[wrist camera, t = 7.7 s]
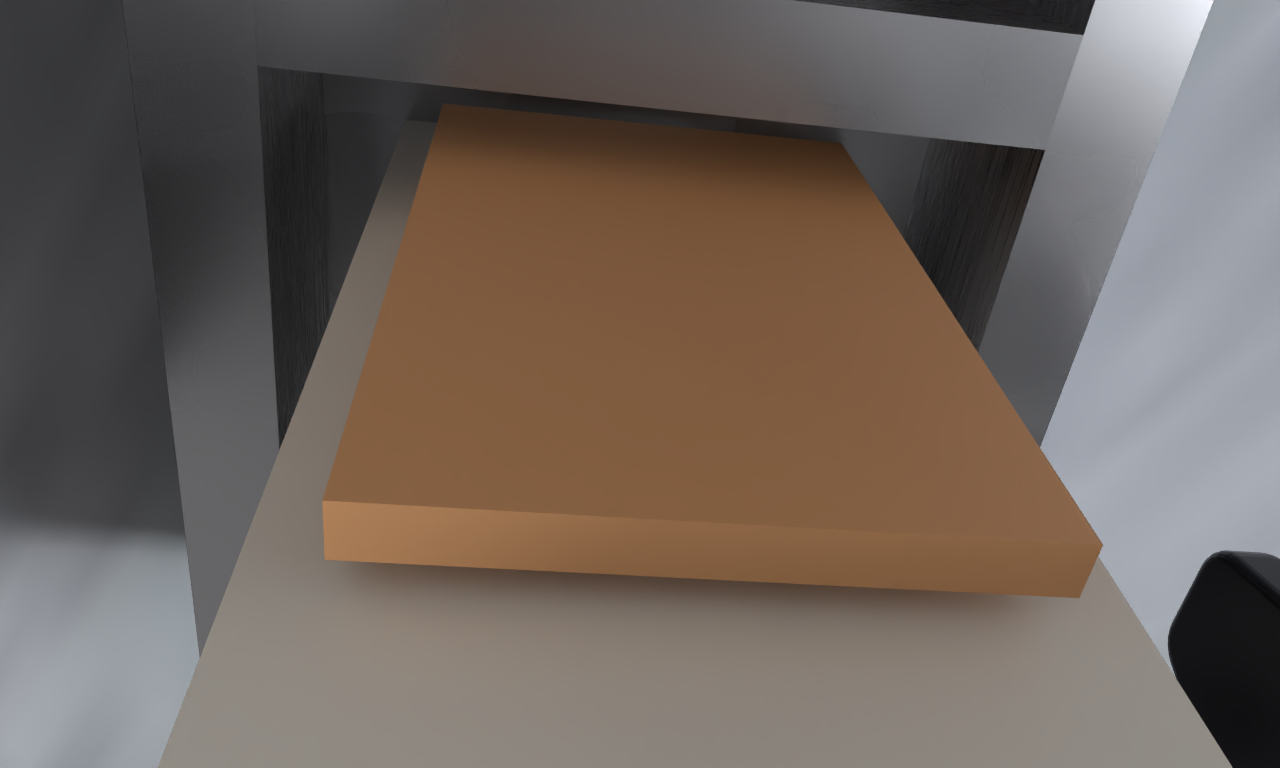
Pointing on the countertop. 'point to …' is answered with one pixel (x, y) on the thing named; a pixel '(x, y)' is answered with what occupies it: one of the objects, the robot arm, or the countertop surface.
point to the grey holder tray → (632, 92)
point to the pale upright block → (661, 491)
